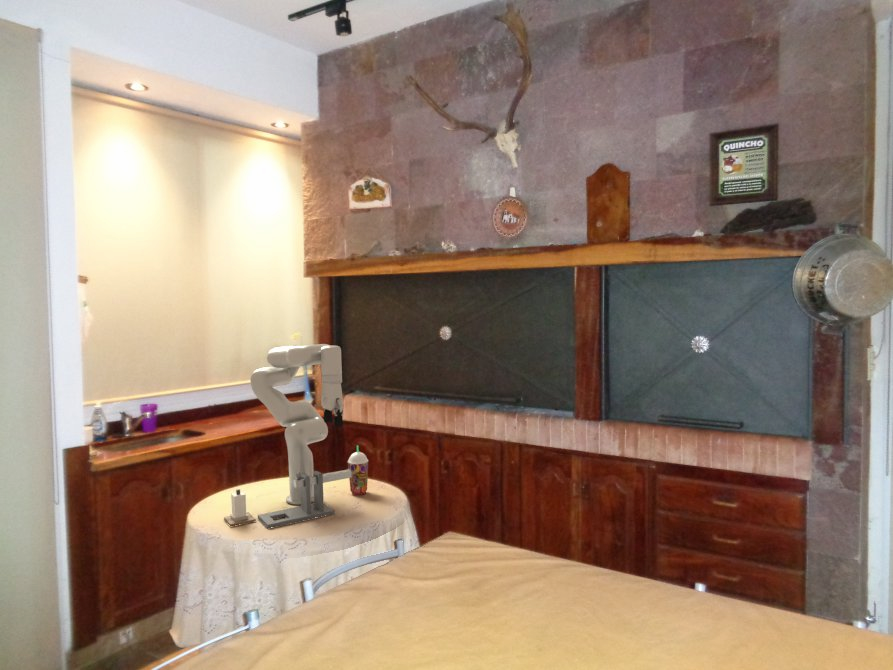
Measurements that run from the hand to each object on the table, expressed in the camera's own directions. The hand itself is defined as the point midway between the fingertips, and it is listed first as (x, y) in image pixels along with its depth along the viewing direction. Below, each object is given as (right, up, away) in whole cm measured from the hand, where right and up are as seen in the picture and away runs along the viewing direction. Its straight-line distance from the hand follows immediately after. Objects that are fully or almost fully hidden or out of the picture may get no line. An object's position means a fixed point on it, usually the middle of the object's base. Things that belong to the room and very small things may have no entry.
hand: (333, 424), depth 242 cm
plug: (-33, -34, -6) cm, 48 cm away
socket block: (-13, -34, -3) cm, 36 cm away
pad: (-33, -35, -6) cm, 48 cm away
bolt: (-4, -22, +1) cm, 22 cm away
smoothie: (+7, -32, +23) cm, 40 cm away
